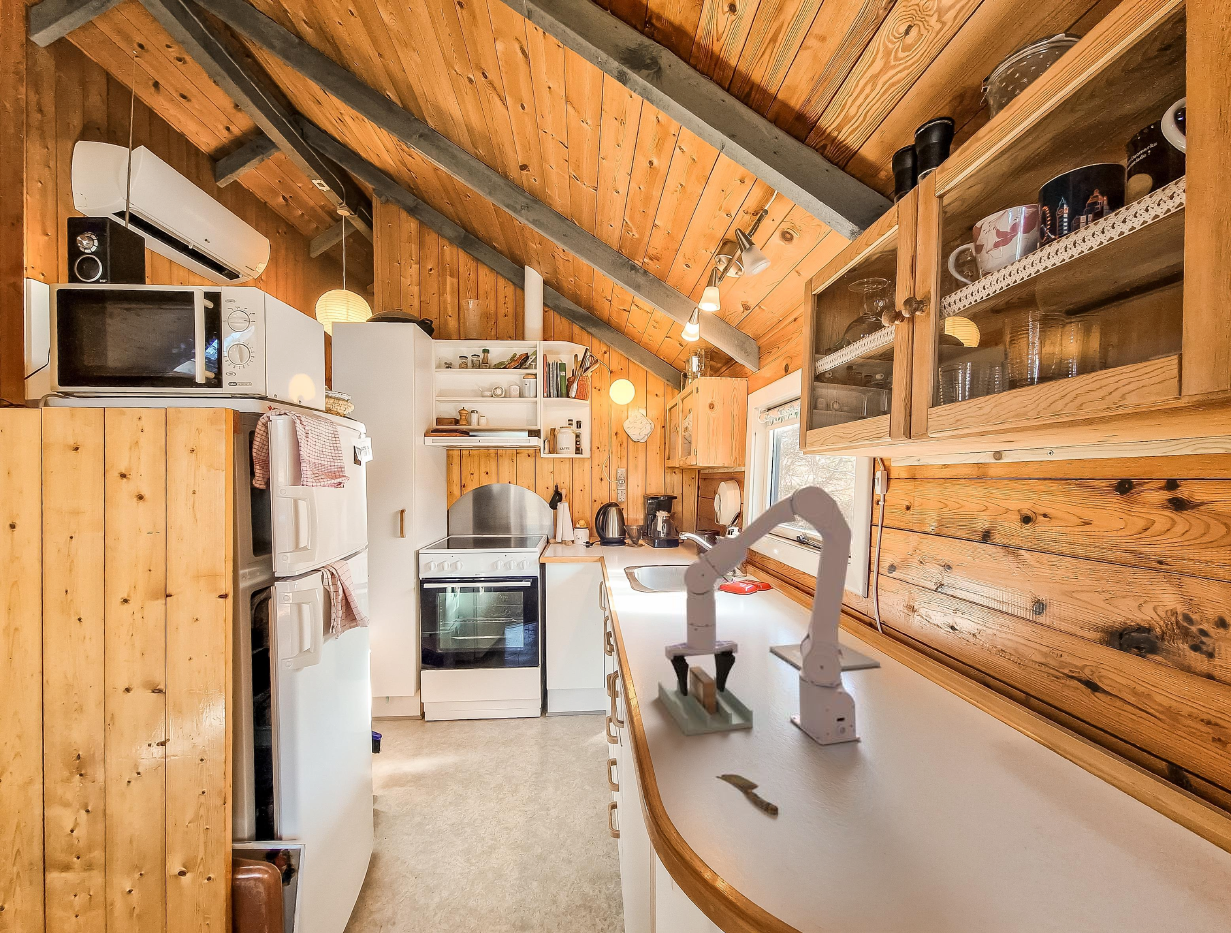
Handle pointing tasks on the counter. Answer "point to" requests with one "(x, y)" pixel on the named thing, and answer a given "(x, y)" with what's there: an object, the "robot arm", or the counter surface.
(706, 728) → the notched rack
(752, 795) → the brown knife
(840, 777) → the counter surface
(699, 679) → the tan wooden slab
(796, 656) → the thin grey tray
